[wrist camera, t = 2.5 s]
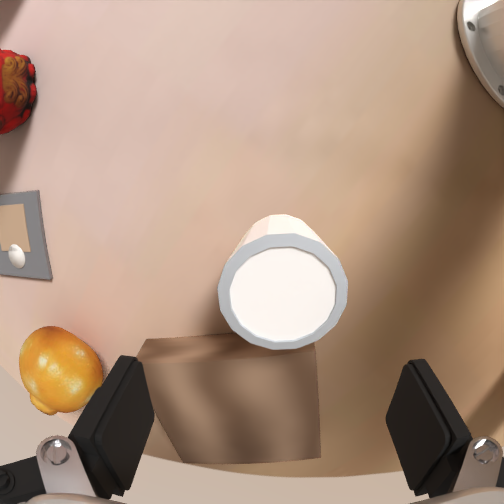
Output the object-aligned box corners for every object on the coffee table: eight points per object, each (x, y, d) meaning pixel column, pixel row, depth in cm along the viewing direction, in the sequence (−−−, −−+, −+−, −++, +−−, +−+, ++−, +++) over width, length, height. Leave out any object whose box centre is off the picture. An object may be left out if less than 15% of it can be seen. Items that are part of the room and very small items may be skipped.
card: (39, 190, 22) (35, 191, 22) (52, 277, 25) (49, 280, 24) (-14, 196, 23) (-17, 197, 22) (0, 272, 25) (-3, 274, 25)
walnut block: (309, 321, 25) (315, 350, 21) (317, 428, 30) (320, 457, 26) (147, 336, 27) (132, 363, 23) (190, 435, 31) (183, 462, 27)
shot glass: (220, 218, 22) (199, 252, 16) (316, 194, 21) (336, 218, 15) (246, 304, 24) (238, 361, 18) (334, 284, 24) (356, 336, 17)
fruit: (95, 388, 29) (64, 440, 22) (38, 339, 28) (-3, 383, 20) (128, 350, 27) (92, 409, 19) (62, 293, 25) (10, 338, 18)
